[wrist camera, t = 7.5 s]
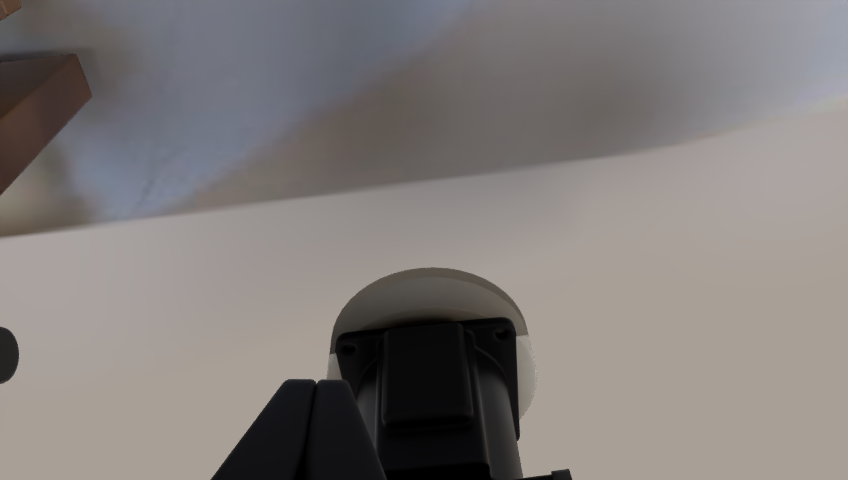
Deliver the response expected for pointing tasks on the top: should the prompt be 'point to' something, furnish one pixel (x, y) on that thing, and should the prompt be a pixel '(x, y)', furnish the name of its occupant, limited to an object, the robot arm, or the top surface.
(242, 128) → the top surface
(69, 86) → the drawer
